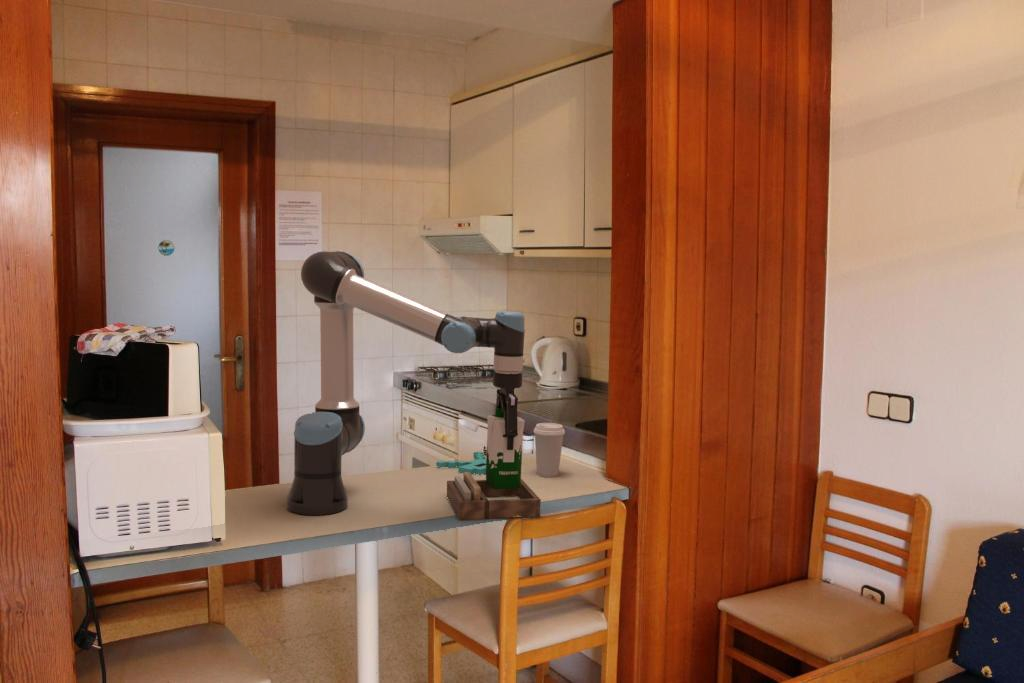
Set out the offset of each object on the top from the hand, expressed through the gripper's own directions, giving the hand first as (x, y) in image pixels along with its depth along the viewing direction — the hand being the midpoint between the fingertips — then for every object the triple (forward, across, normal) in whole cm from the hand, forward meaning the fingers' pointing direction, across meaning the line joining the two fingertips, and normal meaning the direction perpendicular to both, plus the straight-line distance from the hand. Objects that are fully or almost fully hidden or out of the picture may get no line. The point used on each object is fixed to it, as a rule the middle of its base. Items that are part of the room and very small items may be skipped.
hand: (504, 457), depth 227 cm
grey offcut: (+13, 0, +11) cm, 17 cm away
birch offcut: (+13, 0, +8) cm, 16 cm away
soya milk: (+8, 0, 0) cm, 8 cm away
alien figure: (+14, +41, -3) cm, 43 cm away
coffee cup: (+13, +31, -21) cm, 40 cm away
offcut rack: (+13, 0, +3) cm, 13 cm away
